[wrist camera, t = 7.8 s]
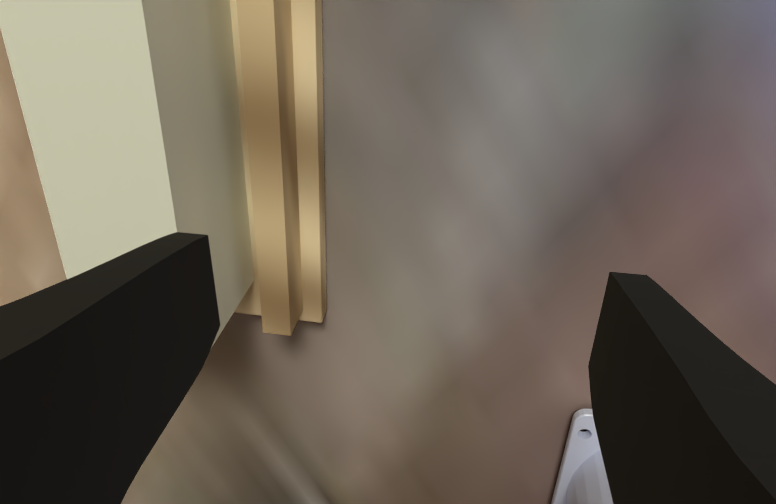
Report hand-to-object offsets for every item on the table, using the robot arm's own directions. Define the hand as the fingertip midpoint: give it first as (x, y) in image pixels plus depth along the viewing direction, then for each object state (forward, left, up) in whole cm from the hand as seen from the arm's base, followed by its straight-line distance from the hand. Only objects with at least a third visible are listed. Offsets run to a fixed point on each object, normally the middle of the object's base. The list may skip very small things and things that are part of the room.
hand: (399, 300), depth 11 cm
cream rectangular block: (0, +8, -9) cm, 12 cm away
